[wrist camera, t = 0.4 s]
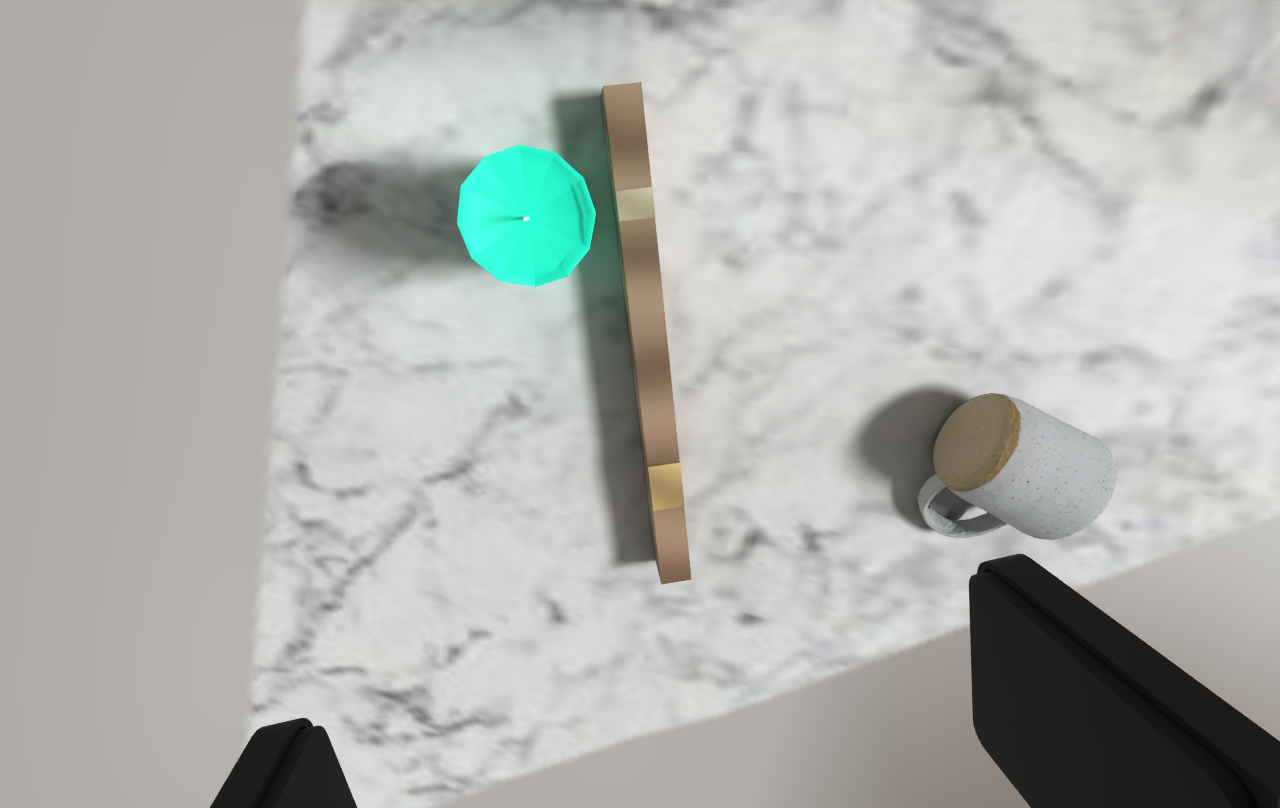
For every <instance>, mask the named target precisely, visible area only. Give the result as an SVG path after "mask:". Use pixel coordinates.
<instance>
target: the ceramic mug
mask: <svg viewBox="0 0 1280 808" xmlns="http://www.w3.org/2000/svg"><path fill="white" fill-rule="evenodd" d="M933 464H934V468H935V471H936V474H935V475H933V476H932V477H930V478H929V479H928V480H927V481H926V482H925V484H924V486H923V487H922V488H921V490H920V492H919V495H918V505H919V508H920V511H921V515H922V517H923V519H924V521H925V523H926V524H927V525H928V526H929V527H930V528H932V529H933V530H935V531H936V532H938V533H940V534H942V535H945V536H949V537H955V538H967V537H974V536H979V535H983V534H986V533H989V532H992V531H994V530H996V529H998V528H1000V527H1002V526H1004V525H1006V524H1009V525H1011V526H1012V527H1014V528H1016V529H1018V530H1019V531H1021V532H1023V533H1025V534H1027V535H1029V536H1032V537H1034V538H1038V539H1048V540H1054V539H1060V538H1064V537H1067V536H1071V535H1073V534H1075V533H1077V532H1079V531H1081V530H1082V529H1084V528H1086V527H1087V526H1089V525H1090V524H1091V523H1092V522H1093V521H1094V520H1095V519H1097V517H1098V515H1099V514H1101V513H1102V512H1103V510H1104V509H1105V508H1106V506H1107V504H1108V502H1109V501H1110V499H1111V497H1112V494H1113V491H1114V488H1115V484H1116V477H1117V472H1116V464H1115V461H1114V458H1113V456H1112V454H1111V452H1110V450H1109V449H1108V448H1107V446H1106V445H1105V444H1104V443H1103V442H1102V441H1100V440H1099V439H1097V438H1095V437H1093V436H1091V435H1089V434H1087V433H1085V432H1083V431H1081V430H1079V429H1077V428H1075V427H1073V426H1071V425H1069V424H1067V423H1065V422H1063V421H1061V420H1059V419H1057V418H1055V417H1053V416H1051V415H1049V414H1047V413H1045V412H1043V411H1041V410H1039V409H1037V408H1035V407H1034V406H1032V405H1030V404H1028V403H1026V402H1024V401H1022V400H1019V399H1016V398H1012V397H1009V396H1006V395H1002V394H993V393H990V394H984V395H980V396H977V397H974V398H972V399H970V400H968V401H967V402H965V403H964V404H962V405H961V406H960V407H958V408H957V409H956V410H955V411H954V412H953V413H952V414H951V415H950V417H949V418H948V419H947V420H946V422H945V423H944V424H943V426H942V428H941V430H940V432H939V434H938V436H937V439H936V442H935V446H934V452H933ZM946 487H947V488H948V489H950V490H951V491H952V492H953V493H954V494H956V495H957V496H959V497H960V498H962V499H964V500H965V501H967V502H969V503H971V504H973V505H975V506H977V507H979V508H981V509H983V510H985V511H987V513H986V514H983V515H981V516H978V517H975V518H972V519H967V520H958V521H954V520H949V519H946V518H944V517H943V516H941V515H940V514H938V513H936V512H935V511H934V509H933V507H930V506H928V505H929V504H930V501H931V500H932V499H933V498H934V497H935V496H936V494H938V493H939V492H940V491H941V490H942V489H944V488H946Z"/></svg>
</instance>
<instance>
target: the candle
mask: <svg viewBox="0 0 1280 808" xmlns="http://www.w3.org/2000/svg"><path fill="white" fill-rule="evenodd" d="M595 217H596V211H595V208H594V206H593V203H592V200H591V197H590V194H589V191H588V188H587V186H586V183H585V180H584V178H583V177H582V176H581V175H580V174H579V173H578V172H577V171H576V170H574V169H573V168H572V167H571V166H570V165H569V164H568V163H567V162H566V161H565V160H563V159H562V158H561V157H560V156H559V155H558V154H557V153H556V152H551V151H546V150H542V149H537V148H532V147H527V146H523V145H517V146H514V147H511V148H508V149H506V150H503V151H500V152H497V153H494V154H491V155H488V156H485V157H484V158H483V159H482V160H481V161H480V163H479V164H478V165H477V166H476V168H475V169H474V170H473V171H472V173H471V174H470V175H469V176H468V177H467V179H466V180H465V181H464V182H463V184H462V185H461V187H460V198H459V208H458V218H457V225H458V227H459V230H460V232H461V234H462V237H463V239H464V242H465V244H466V247H467V249H468V252H469V254H470V256H471V259H473V260H474V261H475V262H476V263H478V264H479V265H480V266H481V267H483V268H484V269H485V270H486V271H488V272H489V273H490V274H491V275H493V276H494V277H495V278H496V279H498V280H499V281H500V282H507V283H513V284H520V285H526V286H533V287H537V286H540V285H543V284H546V283H549V282H552V281H555V280H558V279H561V278H564V277H567V276H568V275H569V274H570V273H571V272H572V270H573V269H574V268H575V267H576V265H577V264H578V263H579V262H580V260H581V259H582V258H583V257H584V255H585V254H586V253H587V252H588V251H589V249H590V245H591V240H592V234H593V229H594V223H595Z"/></svg>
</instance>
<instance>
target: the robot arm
mask: <svg viewBox="0 0 1280 808" xmlns="http://www.w3.org/2000/svg"><path fill="white" fill-rule="evenodd" d="M969 603H970V635H971V667H972V668H971V670H972V703H973V704H972V705H973V723H974V727H975V731H976V734H977V736H978V738H979V740H980V742H981V744H982V746H983V747H984V748H985V750H986V751H987V752H988V754H989V755H990V756H991V758H992V759H993V760H994V761H995V763H996V764H997V765H998V766H999V767H1000V769H1001V770H1002V772H1003V773H1004V774H1005V775H1006V777H1007V778H1008V779H1009V780H1010V782H1011V783H1012V784H1013V785H1014V787H1015V788H1016V789H1017V791H1019V793H1020V794H1021V795H1022V797H1023V798H1024V799H1025V801H1026V802H1027V803H1028V804H1029V806H1030V807H1031V808H1280V741H1278V740H1277V739H1276V738H1274V737H1273V736H1272V735H1270V734H1269V733H1268V732H1266V731H1265V730H1263V729H1262V728H1261V727H1259V726H1258V725H1257V724H1255V723H1254V722H1253V721H1251V720H1250V719H1249V718H1247V717H1246V716H1244V715H1243V714H1242V713H1240V712H1239V711H1238V710H1236V709H1235V708H1234V707H1232V706H1231V705H1229V704H1228V703H1227V702H1225V701H1224V700H1223V699H1221V698H1220V697H1219V696H1217V695H1216V694H1215V693H1213V692H1212V691H1210V690H1209V689H1208V688H1206V687H1205V686H1204V685H1202V684H1201V683H1200V682H1198V681H1197V680H1195V679H1194V678H1193V677H1191V676H1190V675H1188V674H1187V673H1186V672H1184V671H1183V670H1182V669H1181V668H1179V667H1178V666H1176V665H1175V664H1174V663H1172V662H1171V661H1169V660H1168V659H1167V658H1166V657H1164V656H1163V655H1161V654H1160V653H1159V652H1157V651H1156V650H1155V649H1153V648H1152V647H1151V646H1149V645H1148V644H1146V643H1145V642H1144V641H1142V640H1141V639H1140V638H1138V637H1137V636H1136V635H1134V634H1133V633H1131V632H1130V631H1129V630H1127V629H1126V628H1125V627H1123V626H1122V625H1121V624H1119V623H1118V622H1116V621H1115V620H1114V619H1113V618H1111V617H1110V616H1108V615H1107V614H1106V613H1104V612H1103V611H1102V610H1100V609H1099V608H1098V607H1096V606H1095V605H1093V604H1092V603H1091V602H1089V601H1088V600H1087V599H1085V598H1084V597H1083V596H1081V595H1080V594H1079V593H1077V592H1076V591H1074V590H1073V589H1072V588H1070V587H1069V586H1068V585H1066V584H1065V583H1064V582H1062V581H1061V580H1059V579H1058V578H1057V577H1055V576H1054V575H1053V574H1051V573H1050V572H1049V571H1047V570H1046V569H1045V568H1043V567H1042V566H1040V565H1039V564H1038V563H1036V562H1035V561H1034V560H1032V559H1031V558H1029V557H1028V556H1026V555H1024V554H1016V555H1011V556H1007V557H1003V558H998V559H994V560H990V561H985V562H983V563H981V564H980V565H979V567H978V571H977V574H975V575H973V576H971V578H970V580H969ZM210 808H357V806H356V803H355V801H354V798H353V796H352V794H351V791H350V789H349V786H348V784H347V781H346V779H345V776H344V774H343V771H342V769H341V766H340V764H339V761H338V759H337V757H336V754H335V752H334V749H333V747H332V744H331V742H330V739H329V737H328V734H327V732H326V731H325V729H324V728H323V727H322V726H313V725H312V723H311V721H309V720H308V719H307V718H299V719H295V720H291V721H286V722H282V723H277V724H273V725H269V726H264V727H261V728H260V729H258V730H257V731H256V732H255V733H254V735H253V736H252V737H251V739H250V741H249V742H248V744H247V746H246V747H245V749H244V751H243V753H242V754H241V756H240V758H239V759H238V761H237V763H236V764H235V766H234V768H233V769H232V771H231V773H230V775H229V776H228V778H227V780H226V781H225V783H224V785H223V786H222V788H221V790H220V792H219V793H218V795H217V796H216V798H215V800H214V802H213V803H212V805H211V807H210Z"/></svg>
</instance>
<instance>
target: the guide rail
mask: <svg viewBox="0 0 1280 808" xmlns="http://www.w3.org/2000/svg"><path fill="white" fill-rule="evenodd" d="M600 98H601V106H602V115H603V123H604V131H605V140H606V148H607V157H608V165H609V173H610V182H611V190H612V199H613V207H614V215H615V224H616V232H617V241H618V249H619V257H620V266H621V274H622V283H623V291H624V299H625V308H626V316H627V325H628V333H629V341H630V350H631V358H632V367H633V375H634V383H635V392H636V400H637V409H638V417H639V425H640V434H641V442H642V450H643V459H644V467H645V476H646V484H647V492H648V501H649V509H650V518H651V526H652V534H653V543H654V551H655V560H656V564H657V568H658V572H659V576H660V580H661V584H667V583H673V582H679V581H685V580H691V571H690V561H689V551H688V541H687V531H686V521H685V511H684V497H683V487H682V478H681V468H680V461H679V452H678V442H677V432H676V422H675V412H674V402H673V393H672V383H671V373H670V363H669V353H668V343H667V333H666V323H665V313H664V303H663V294H662V284H661V274H660V264H659V254H658V244H657V234H656V224H655V210H654V200H653V190H652V185H651V175H650V165H649V155H648V145H647V135H646V125H645V115H644V105H643V95H642V86H641V82H640V83H630V84H621V85H611V86H603V88H602V92H601V95H600Z"/></svg>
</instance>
